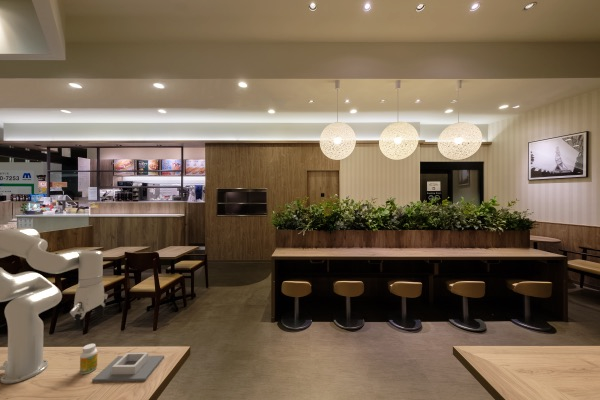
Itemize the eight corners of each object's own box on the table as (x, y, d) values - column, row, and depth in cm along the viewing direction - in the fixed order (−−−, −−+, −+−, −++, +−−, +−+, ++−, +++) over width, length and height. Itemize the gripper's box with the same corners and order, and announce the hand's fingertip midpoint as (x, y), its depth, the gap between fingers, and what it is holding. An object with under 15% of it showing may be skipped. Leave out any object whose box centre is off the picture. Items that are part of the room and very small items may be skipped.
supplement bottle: (86, 375, 96) (87, 351, 96) (76, 373, 97) (76, 349, 97) (100, 366, 101) (101, 343, 101) (90, 364, 102) (90, 341, 102)
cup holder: (92, 382, 92) (92, 371, 92) (118, 358, 106) (118, 349, 106) (145, 380, 93) (145, 370, 93) (164, 357, 107) (164, 348, 107)
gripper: (98, 274, 108) (97, 312, 108) (61, 288, 91) (60, 333, 90) (115, 274, 108) (114, 312, 108) (82, 288, 91) (81, 333, 91)
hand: (90, 322), depth 99 cm, fingers open, 9 cm apart
